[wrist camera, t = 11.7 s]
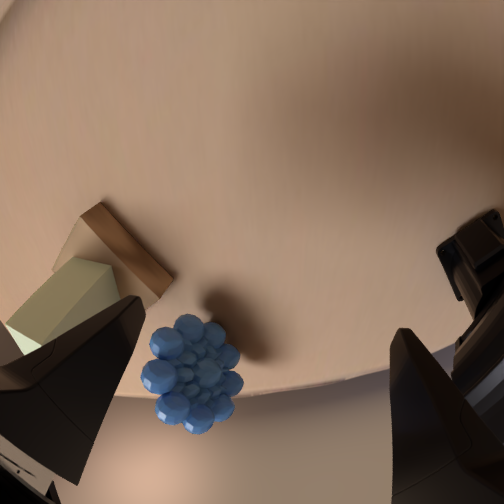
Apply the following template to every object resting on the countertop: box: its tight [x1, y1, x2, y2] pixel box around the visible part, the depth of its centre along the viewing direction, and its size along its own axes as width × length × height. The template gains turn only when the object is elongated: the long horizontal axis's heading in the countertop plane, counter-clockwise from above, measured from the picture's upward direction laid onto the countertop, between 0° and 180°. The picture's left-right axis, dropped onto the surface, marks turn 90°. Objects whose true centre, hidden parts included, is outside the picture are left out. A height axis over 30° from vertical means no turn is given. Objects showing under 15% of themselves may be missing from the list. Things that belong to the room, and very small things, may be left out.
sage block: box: [5, 257, 121, 355], centre depth 21 cm, size 5×5×10 cm
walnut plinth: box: [52, 202, 173, 310], centre depth 27 cm, size 10×10×3 cm
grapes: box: [140, 314, 244, 434], centre depth 25 cm, size 12×7×12 cm, turn 28°
